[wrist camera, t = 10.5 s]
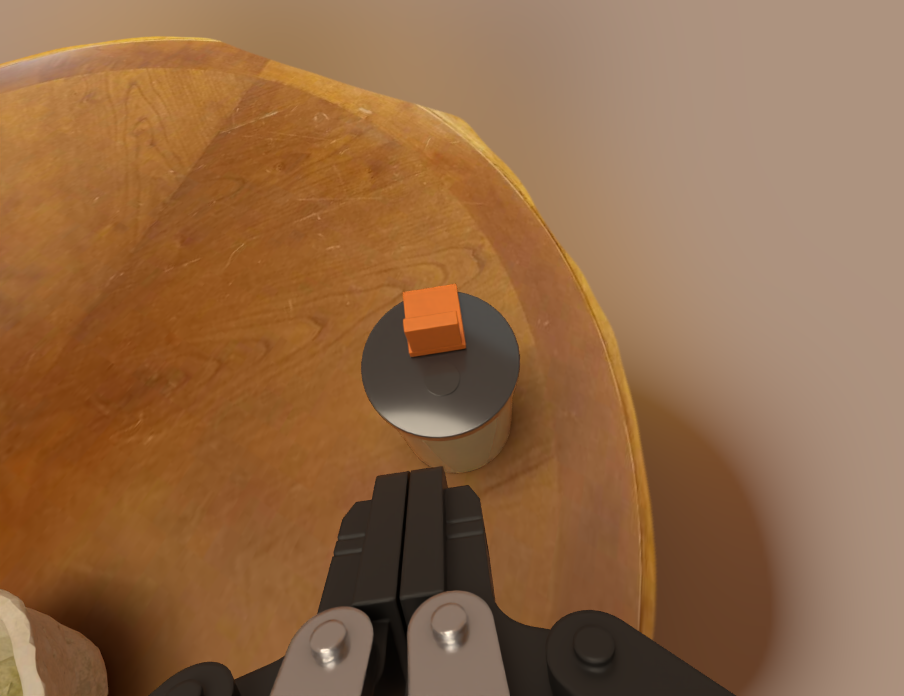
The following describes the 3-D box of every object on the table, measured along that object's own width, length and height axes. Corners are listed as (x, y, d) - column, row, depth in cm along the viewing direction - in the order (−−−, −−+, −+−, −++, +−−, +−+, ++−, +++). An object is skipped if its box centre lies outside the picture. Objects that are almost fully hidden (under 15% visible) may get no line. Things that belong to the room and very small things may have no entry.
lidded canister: (525, 467, 37) (534, 423, 26) (405, 485, 37) (364, 449, 26) (504, 356, 41) (504, 278, 30) (394, 374, 41) (356, 302, 30)
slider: (466, 348, 28) (462, 323, 25) (410, 357, 28) (399, 332, 25) (457, 288, 30) (452, 257, 27) (404, 297, 30) (393, 267, 27)
